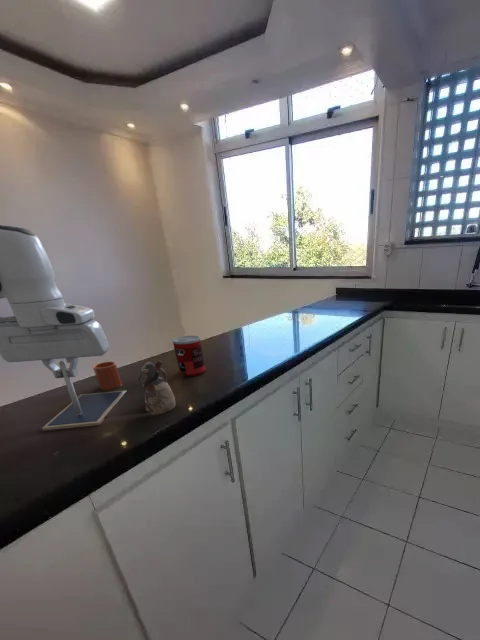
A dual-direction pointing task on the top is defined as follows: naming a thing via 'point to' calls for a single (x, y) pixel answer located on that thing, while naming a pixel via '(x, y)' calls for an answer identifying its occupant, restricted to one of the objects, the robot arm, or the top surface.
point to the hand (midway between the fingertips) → (67, 376)
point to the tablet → (85, 411)
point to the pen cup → (107, 375)
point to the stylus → (70, 388)
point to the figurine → (156, 389)
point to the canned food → (189, 355)
